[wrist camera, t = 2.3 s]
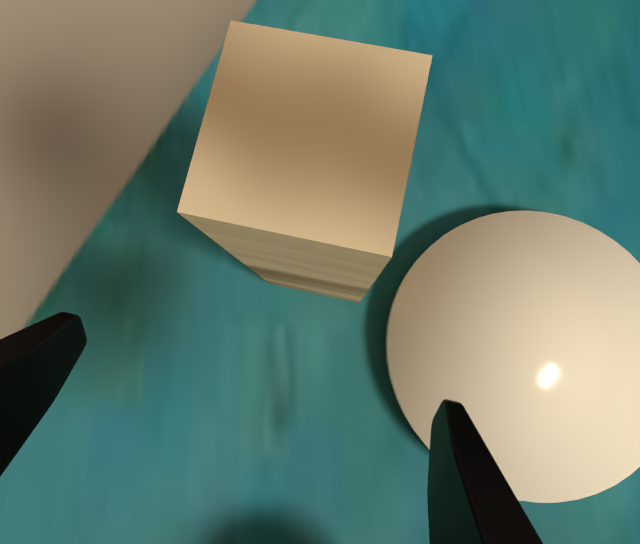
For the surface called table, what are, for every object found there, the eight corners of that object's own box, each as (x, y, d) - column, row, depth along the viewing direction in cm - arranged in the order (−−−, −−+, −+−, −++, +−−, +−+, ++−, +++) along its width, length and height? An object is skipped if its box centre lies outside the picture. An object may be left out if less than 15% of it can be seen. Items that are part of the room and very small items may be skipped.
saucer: (581, 553, 20) (597, 567, 18) (334, 389, 21) (334, 392, 20) (708, 306, 21) (730, 304, 20) (469, 170, 23) (476, 161, 22)
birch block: (358, 302, 22) (391, 257, 9) (268, 283, 22) (176, 211, 9) (377, 214, 23) (432, 55, 10) (289, 196, 23) (230, 20, 10)
